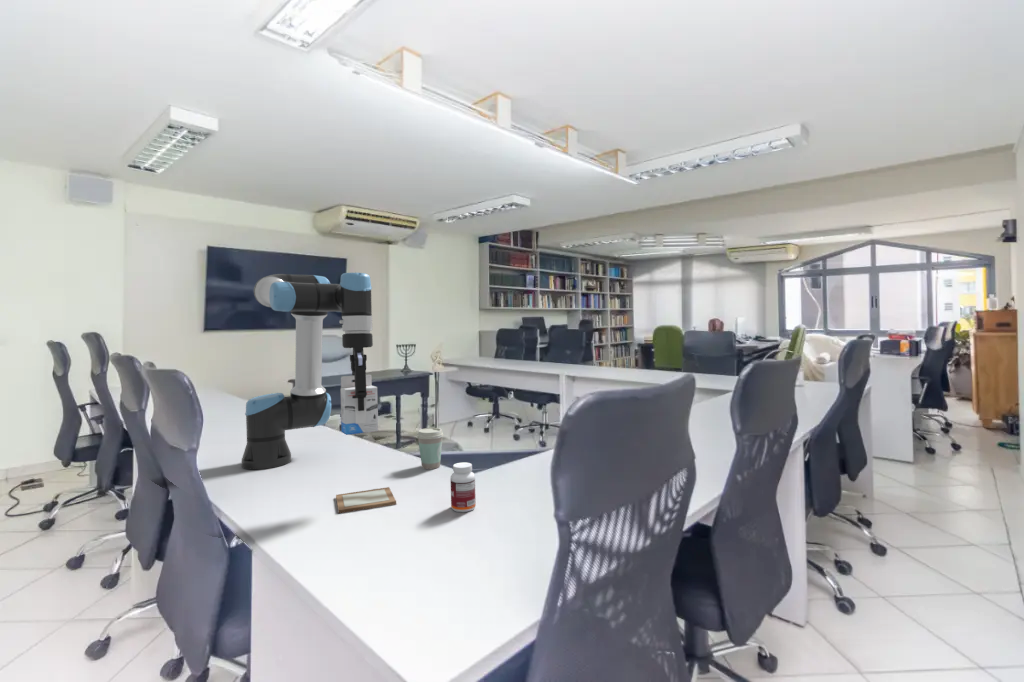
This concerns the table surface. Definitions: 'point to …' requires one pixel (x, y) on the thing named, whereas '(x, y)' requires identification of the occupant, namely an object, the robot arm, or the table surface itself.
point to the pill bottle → (463, 488)
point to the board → (365, 500)
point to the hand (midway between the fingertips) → (360, 420)
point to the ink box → (349, 407)
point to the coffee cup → (430, 447)
